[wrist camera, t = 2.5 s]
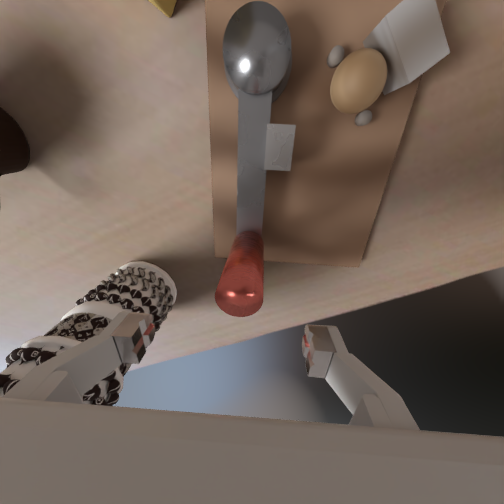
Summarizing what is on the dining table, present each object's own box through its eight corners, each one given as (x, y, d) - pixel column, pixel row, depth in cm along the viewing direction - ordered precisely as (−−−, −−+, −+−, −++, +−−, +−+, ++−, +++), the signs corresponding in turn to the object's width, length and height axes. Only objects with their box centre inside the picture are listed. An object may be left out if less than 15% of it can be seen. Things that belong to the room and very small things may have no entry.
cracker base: (209, 3, 15) (189, -48, 11) (433, 10, 15) (494, -41, 11) (217, 252, 25) (207, 271, 21) (354, 262, 24) (372, 283, 20)
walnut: (370, 52, 15) (399, 25, 12) (373, 108, 17) (399, 97, 13) (321, 71, 16) (335, 51, 12) (328, 123, 17) (342, 117, 14)
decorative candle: (99, 281, 28) (-607, 831, 5) (140, 244, 25) (-1044, 1124, 2) (150, 322, 31) (-164, 790, 8) (193, 294, 28) (-114, 900, 5)
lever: (227, 18, 14) (168, -187, 5) (304, 21, 14) (365, -187, 5) (228, 251, 22) (205, 314, 13) (277, 255, 21) (284, 320, 13)
